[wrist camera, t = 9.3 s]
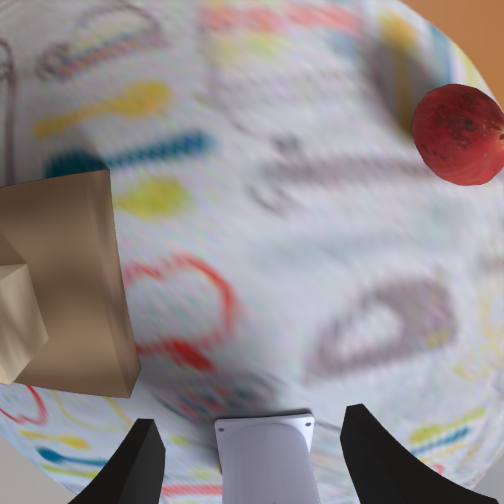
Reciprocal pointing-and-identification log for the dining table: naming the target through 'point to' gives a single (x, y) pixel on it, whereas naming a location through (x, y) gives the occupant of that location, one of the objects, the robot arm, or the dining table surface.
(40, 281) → the walnut block
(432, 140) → the pomegranate
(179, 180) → the dining table surface
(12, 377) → the beech cube
